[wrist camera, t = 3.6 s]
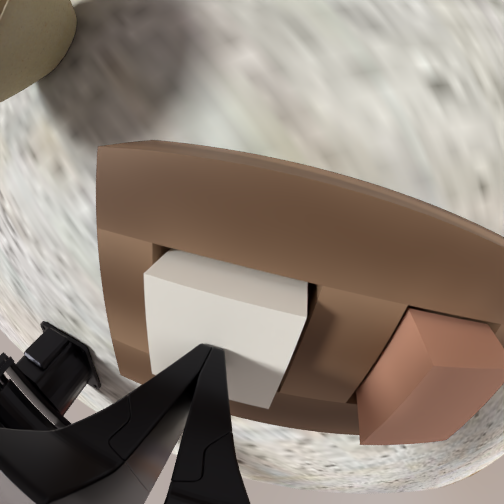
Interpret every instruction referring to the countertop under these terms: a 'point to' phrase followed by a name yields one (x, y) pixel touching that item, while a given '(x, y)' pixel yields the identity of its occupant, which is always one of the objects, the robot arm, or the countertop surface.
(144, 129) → the countertop surface
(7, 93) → the flower pot
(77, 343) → the robot arm
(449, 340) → the terracotta key
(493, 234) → the key console
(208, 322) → the cream key
